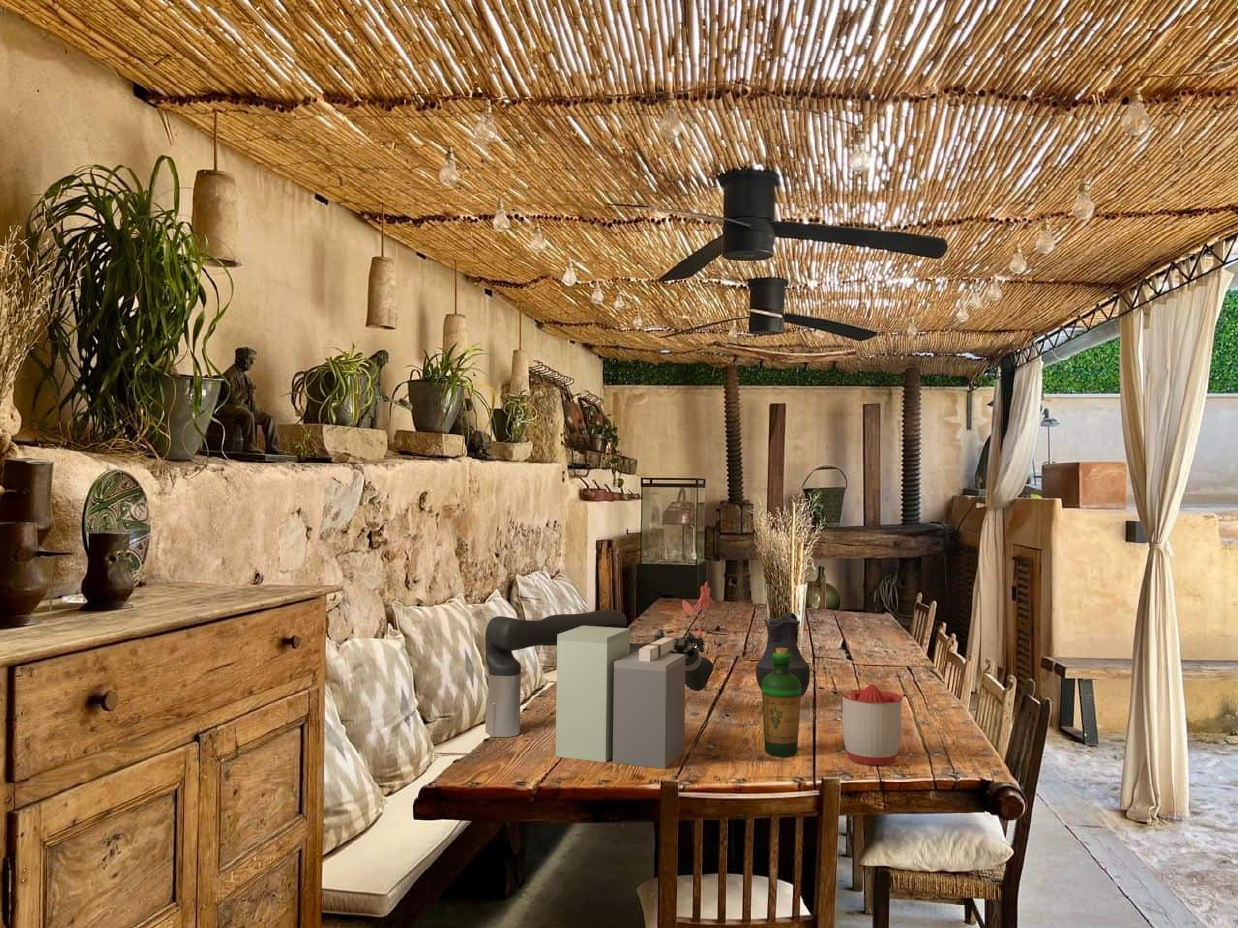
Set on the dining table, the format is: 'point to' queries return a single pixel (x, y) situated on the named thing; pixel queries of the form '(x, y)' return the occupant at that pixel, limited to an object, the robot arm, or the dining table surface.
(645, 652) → the pale wooden bar
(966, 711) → the dining table surface
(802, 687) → the pitcher
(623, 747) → the block
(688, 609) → the pink translucent sprig
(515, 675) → the robot arm
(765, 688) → the bottle
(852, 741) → the citrus juicer
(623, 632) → the sage green tall pillar
